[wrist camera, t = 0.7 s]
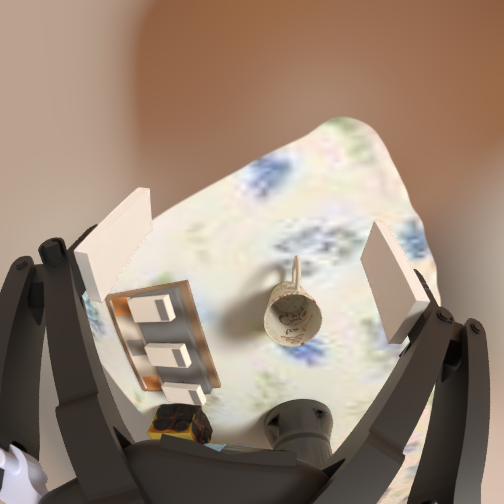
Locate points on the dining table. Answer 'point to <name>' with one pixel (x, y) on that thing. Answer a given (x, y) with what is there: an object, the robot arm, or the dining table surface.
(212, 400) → the dining table surface
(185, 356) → the rocker middle
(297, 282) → the mug
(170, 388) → the block
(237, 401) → the dining table surface
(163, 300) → the block
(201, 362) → the switch board
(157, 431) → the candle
